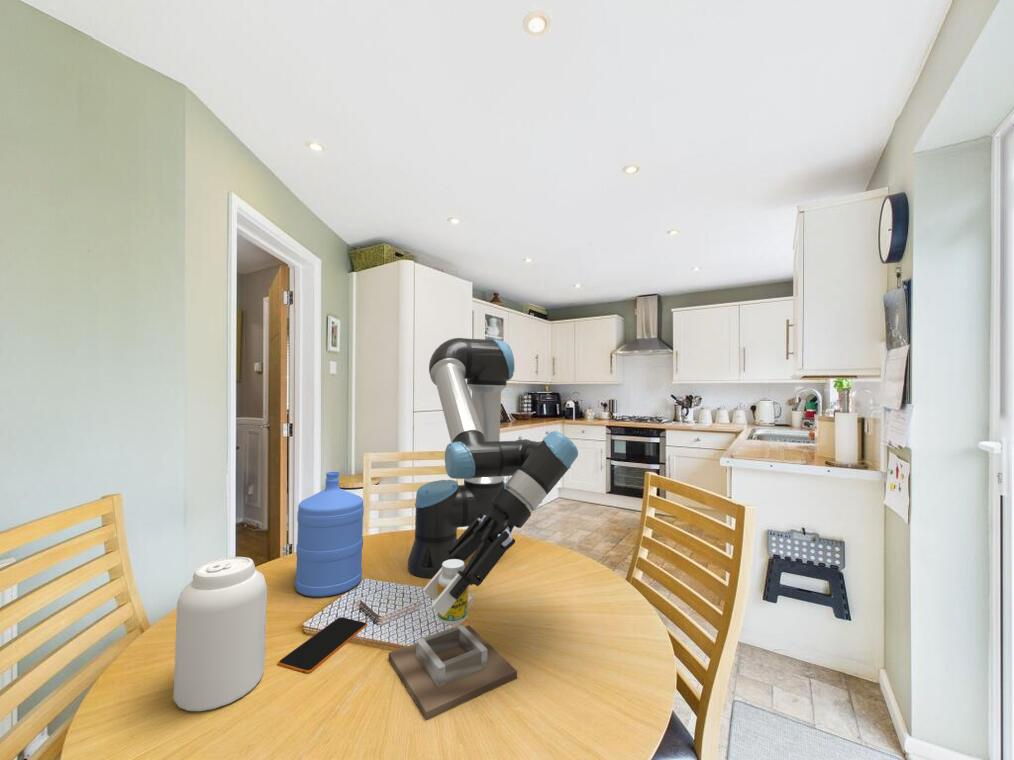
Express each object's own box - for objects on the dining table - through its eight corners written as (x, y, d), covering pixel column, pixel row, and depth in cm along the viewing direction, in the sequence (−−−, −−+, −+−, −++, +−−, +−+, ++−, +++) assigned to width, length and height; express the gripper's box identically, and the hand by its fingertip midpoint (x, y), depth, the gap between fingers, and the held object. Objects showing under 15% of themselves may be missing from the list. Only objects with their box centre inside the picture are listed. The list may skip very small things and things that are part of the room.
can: (163, 725, 61) (168, 587, 62) (182, 673, 73) (186, 557, 73) (262, 698, 67) (266, 572, 68) (265, 653, 78) (269, 545, 79)
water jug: (370, 587, 105) (373, 475, 106) (302, 605, 96) (306, 482, 96) (351, 565, 118) (354, 465, 118) (289, 580, 108) (292, 471, 109)
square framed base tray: (388, 659, 77) (389, 636, 77) (468, 630, 87) (469, 610, 87) (426, 720, 63) (426, 691, 63) (517, 677, 73) (517, 653, 73)
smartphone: (368, 626, 89) (368, 622, 89) (309, 677, 73) (309, 672, 73) (339, 619, 91) (339, 615, 91) (275, 667, 75) (275, 662, 75)
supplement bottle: (459, 606, 79) (460, 555, 79) (473, 619, 74) (474, 565, 75) (432, 614, 76) (433, 561, 76) (445, 628, 71) (446, 571, 72)
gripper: (554, 526, 74) (463, 643, 66) (510, 500, 90) (433, 592, 83) (527, 498, 72) (431, 616, 64) (487, 477, 88) (407, 569, 81)
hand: (432, 602), depth 74 cm, fingers closed on supplement bottle, 5 cm apart
